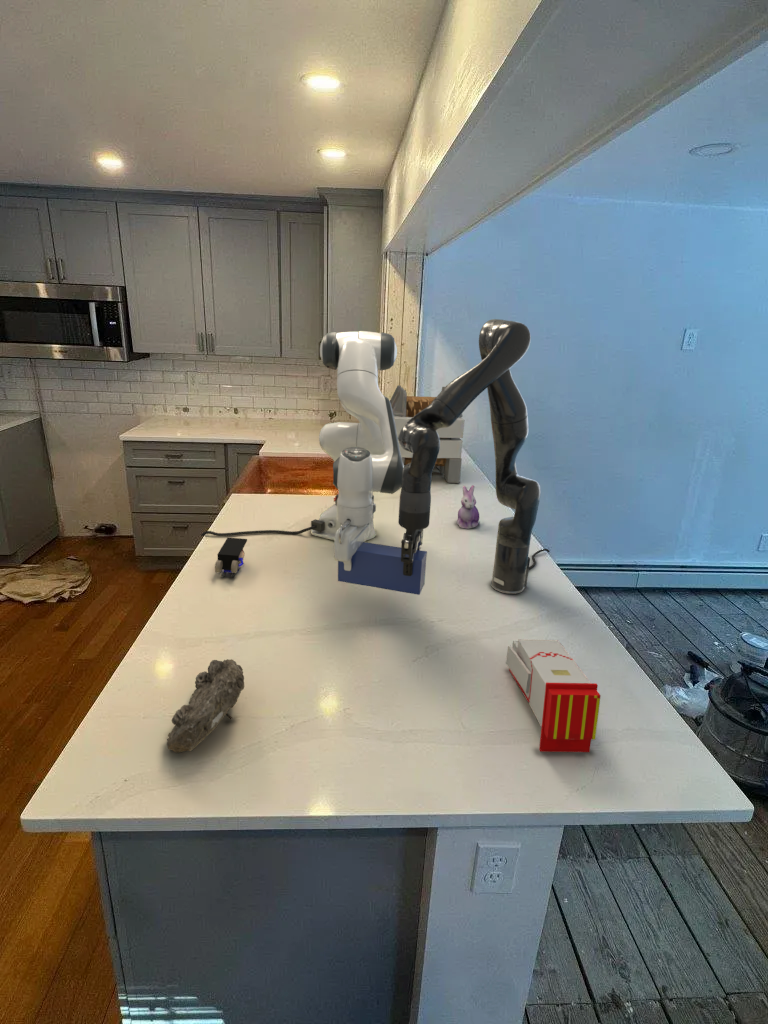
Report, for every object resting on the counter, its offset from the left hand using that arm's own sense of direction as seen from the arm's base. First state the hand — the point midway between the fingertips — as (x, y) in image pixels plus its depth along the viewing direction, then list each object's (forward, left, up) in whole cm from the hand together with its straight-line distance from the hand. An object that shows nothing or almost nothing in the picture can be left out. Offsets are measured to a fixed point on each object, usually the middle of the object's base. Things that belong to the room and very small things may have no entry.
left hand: (353, 563), depth 146 cm
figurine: (+21, +72, -12) cm, 76 cm away
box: (+8, 0, -4) cm, 9 cm away
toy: (+50, -25, -12) cm, 57 cm away
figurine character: (-40, +8, -12) cm, 43 cm away
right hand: (+15, 0, +1) cm, 15 cm away
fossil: (-11, -50, -12) cm, 52 cm away
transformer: (-12, +134, -12) cm, 135 cm away
